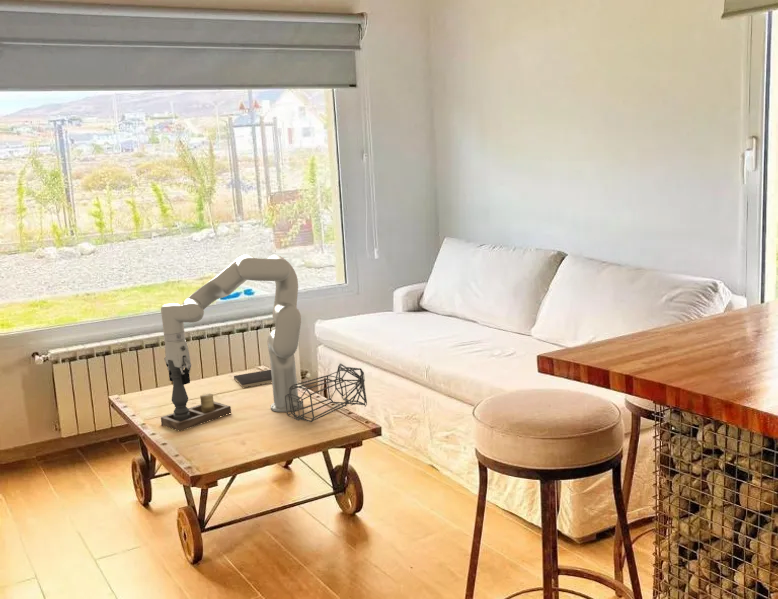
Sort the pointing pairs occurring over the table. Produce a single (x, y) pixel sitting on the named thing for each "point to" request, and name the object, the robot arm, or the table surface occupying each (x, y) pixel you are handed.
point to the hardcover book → (254, 378)
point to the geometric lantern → (359, 383)
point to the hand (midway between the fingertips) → (179, 381)
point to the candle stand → (198, 414)
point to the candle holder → (178, 394)
